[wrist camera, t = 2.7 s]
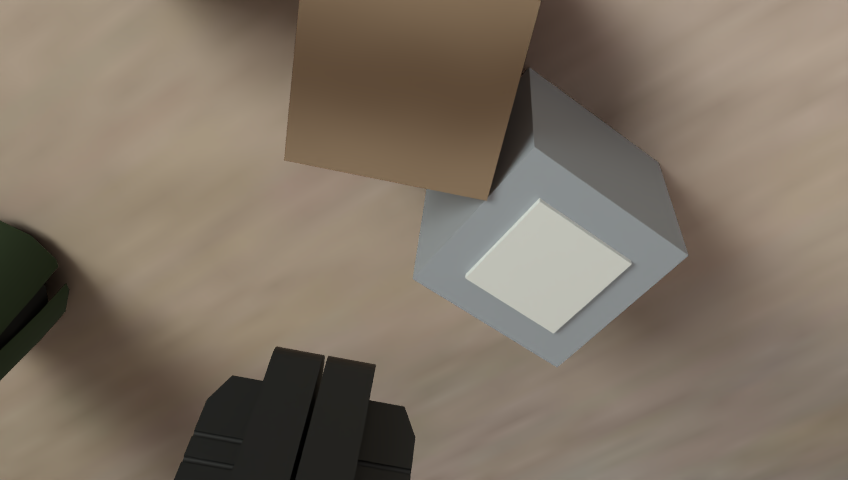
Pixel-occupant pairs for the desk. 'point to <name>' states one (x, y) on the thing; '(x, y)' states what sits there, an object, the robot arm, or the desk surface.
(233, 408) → the robot arm
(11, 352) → the character mug
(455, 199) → the grey block
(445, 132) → the walnut block
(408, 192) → the desk surface
